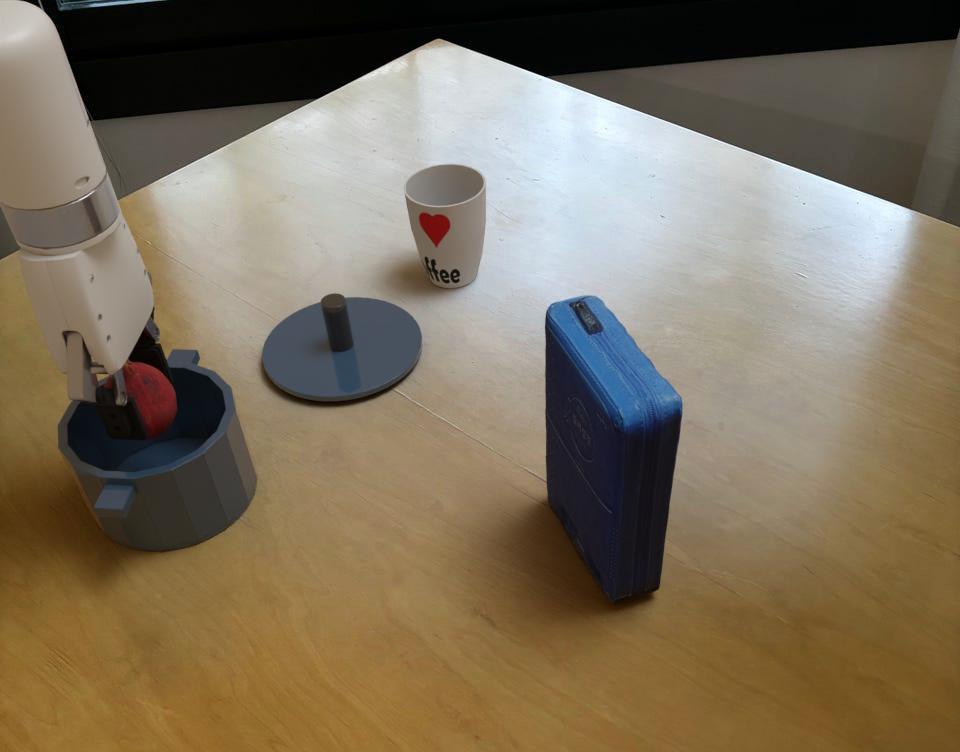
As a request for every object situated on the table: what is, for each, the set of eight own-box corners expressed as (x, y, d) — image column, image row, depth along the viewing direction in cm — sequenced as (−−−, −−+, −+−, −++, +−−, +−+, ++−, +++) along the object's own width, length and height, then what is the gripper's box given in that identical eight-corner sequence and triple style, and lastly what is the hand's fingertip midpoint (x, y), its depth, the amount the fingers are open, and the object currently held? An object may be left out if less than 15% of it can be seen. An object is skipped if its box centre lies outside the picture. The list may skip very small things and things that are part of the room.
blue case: (536, 499, 92) (528, 297, 76) (593, 481, 93) (597, 277, 77) (608, 618, 83) (617, 418, 68) (670, 596, 84) (692, 394, 69)
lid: (246, 403, 103) (229, 350, 98) (286, 305, 112) (273, 251, 107) (408, 409, 100) (399, 354, 96) (434, 308, 110) (428, 254, 105)
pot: (57, 570, 91) (16, 497, 84) (135, 414, 103) (105, 340, 96) (222, 579, 89) (194, 506, 82) (282, 419, 101) (261, 344, 94)
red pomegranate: (202, 427, 91) (175, 349, 85) (154, 468, 88) (122, 390, 82) (153, 405, 93) (123, 328, 87) (105, 444, 90) (70, 367, 84)
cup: (400, 275, 114) (387, 186, 106) (457, 243, 117) (449, 154, 109) (449, 306, 110) (439, 216, 102) (507, 272, 113) (502, 182, 105)
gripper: (57, 143, 80) (134, 344, 94) (-42, 277, 70) (61, 481, 84) (152, 143, 79) (215, 346, 93) (66, 280, 69) (152, 485, 83)
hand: (142, 408), depth 88 cm, fingers closed on red pomegranate, 5 cm apart
